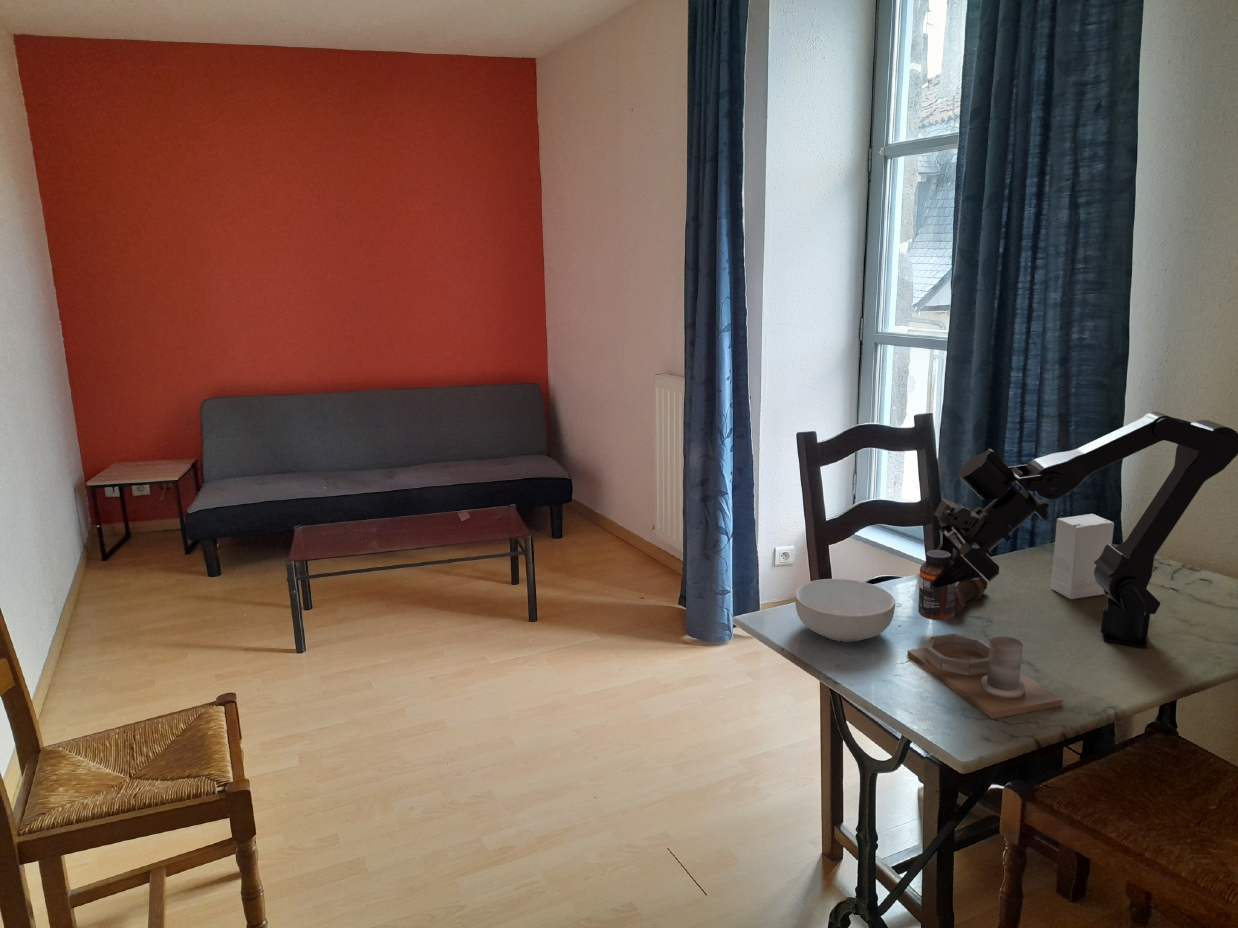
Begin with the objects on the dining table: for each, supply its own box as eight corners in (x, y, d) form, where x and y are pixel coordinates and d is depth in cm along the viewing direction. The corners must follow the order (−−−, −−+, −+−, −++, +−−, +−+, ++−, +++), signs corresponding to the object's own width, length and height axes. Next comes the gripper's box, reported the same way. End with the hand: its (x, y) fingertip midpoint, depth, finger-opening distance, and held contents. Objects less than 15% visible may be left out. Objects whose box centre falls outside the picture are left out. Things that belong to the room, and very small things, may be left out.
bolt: (982, 601, 171) (948, 623, 160) (961, 584, 173) (926, 604, 163) (999, 580, 168) (966, 601, 157) (978, 563, 170) (944, 581, 160)
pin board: (907, 655, 145) (910, 608, 143) (969, 645, 148) (973, 599, 146) (992, 718, 125) (996, 664, 123) (1062, 705, 128) (1067, 652, 126)
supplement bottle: (955, 610, 154) (959, 549, 151) (952, 624, 148) (956, 560, 146) (919, 606, 156) (922, 546, 154) (915, 619, 151) (918, 556, 148)
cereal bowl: (832, 662, 143) (834, 621, 142) (775, 624, 158) (776, 587, 157) (914, 641, 150) (916, 603, 148) (852, 607, 165) (853, 572, 163)
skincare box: (1085, 584, 173) (1093, 512, 169) (1108, 595, 167) (1116, 521, 164) (1048, 589, 171) (1055, 516, 168) (1070, 600, 165) (1077, 525, 162)
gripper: (953, 471, 155) (887, 530, 159) (982, 500, 137) (907, 566, 141) (997, 514, 156) (930, 571, 160) (1031, 548, 138) (955, 612, 142)
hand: (929, 578), depth 151 cm, fingers closed on supplement bottle, 6 cm apart
